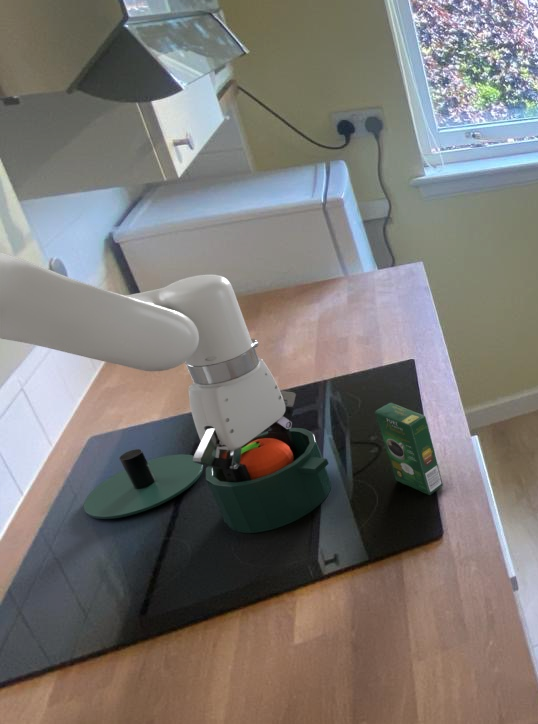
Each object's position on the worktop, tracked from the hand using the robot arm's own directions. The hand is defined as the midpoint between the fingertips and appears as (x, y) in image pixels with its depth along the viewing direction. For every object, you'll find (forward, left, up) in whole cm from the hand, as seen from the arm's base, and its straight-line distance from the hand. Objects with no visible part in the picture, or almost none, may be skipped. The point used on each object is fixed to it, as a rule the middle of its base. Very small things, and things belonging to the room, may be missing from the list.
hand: (264, 468), depth 107 cm
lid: (0, +23, -6) cm, 24 cm away
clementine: (0, 0, -3) cm, 3 cm away
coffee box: (+6, -19, -6) cm, 21 cm away
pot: (0, 0, -6) cm, 6 cm away
